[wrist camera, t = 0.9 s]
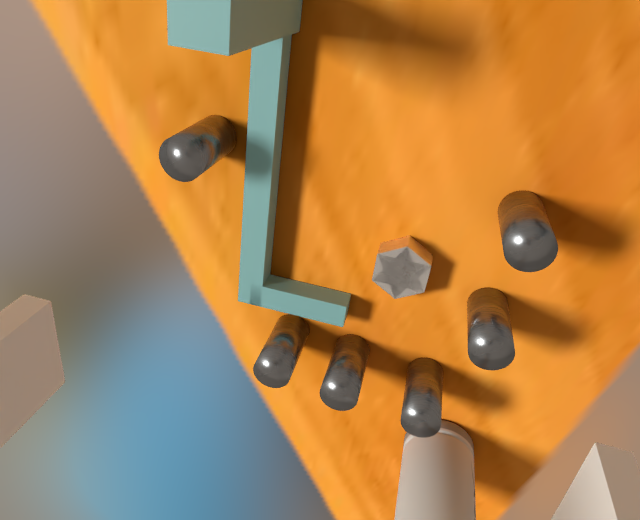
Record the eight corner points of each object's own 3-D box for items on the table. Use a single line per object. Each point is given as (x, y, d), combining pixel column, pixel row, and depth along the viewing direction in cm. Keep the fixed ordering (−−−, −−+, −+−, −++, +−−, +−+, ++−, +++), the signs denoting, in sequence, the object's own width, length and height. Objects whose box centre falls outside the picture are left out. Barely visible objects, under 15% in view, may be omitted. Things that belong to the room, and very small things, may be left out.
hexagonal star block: (436, 240, 38) (435, 252, 37) (422, 291, 41) (420, 304, 39) (383, 228, 39) (380, 240, 37) (373, 279, 41) (369, 292, 40)
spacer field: (555, 181, 34) (572, 217, 29) (473, 397, 44) (474, 452, 39) (199, 111, 38) (158, 132, 33) (197, 326, 48) (166, 367, 43)
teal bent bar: (259, -27, 33) (166, -29, 22) (407, -5, 31) (381, 4, 21) (241, 287, 45) (175, 379, 34) (347, 313, 43) (312, 417, 33)
